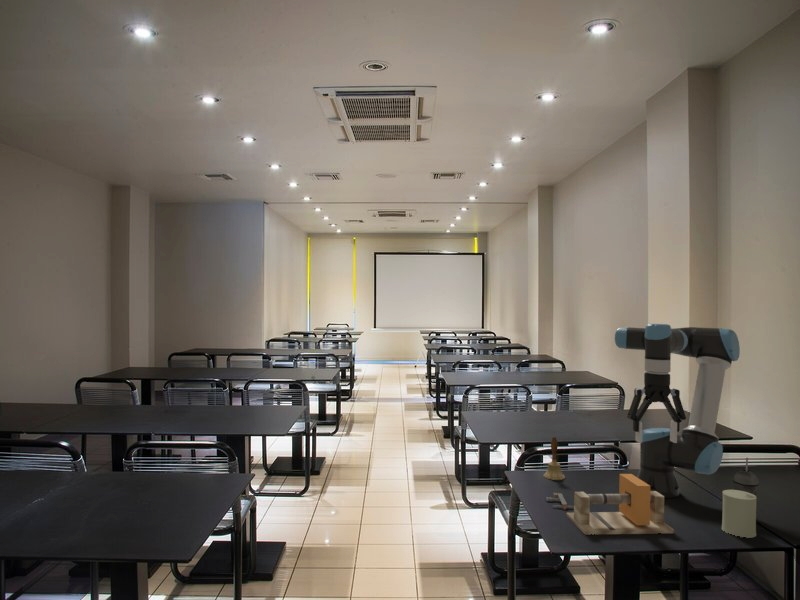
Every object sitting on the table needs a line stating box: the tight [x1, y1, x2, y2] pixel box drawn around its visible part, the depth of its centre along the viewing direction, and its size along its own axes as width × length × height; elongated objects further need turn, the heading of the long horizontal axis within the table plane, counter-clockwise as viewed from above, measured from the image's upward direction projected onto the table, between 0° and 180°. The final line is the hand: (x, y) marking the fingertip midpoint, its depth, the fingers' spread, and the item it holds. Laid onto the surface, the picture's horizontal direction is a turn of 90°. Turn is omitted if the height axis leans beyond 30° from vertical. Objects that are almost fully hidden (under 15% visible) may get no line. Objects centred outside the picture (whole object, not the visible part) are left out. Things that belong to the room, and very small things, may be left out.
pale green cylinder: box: [721, 489, 757, 539], centre depth 175 cm, size 9×9×12 cm
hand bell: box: [543, 436, 566, 481], centre depth 226 cm, size 8×8×16 cm
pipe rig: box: [565, 491, 675, 536], centre depth 179 cm, size 28×15×10 cm, turn 94°
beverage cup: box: [732, 457, 760, 497], centre depth 187 cm, size 7×7×20 cm
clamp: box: [545, 492, 574, 510], centre depth 195 cm, size 15×2×10 cm
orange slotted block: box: [618, 473, 650, 525], centre depth 180 cm, size 4×12×12 cm, turn 4°
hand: (656, 441), depth 180 cm, fingers open, 11 cm apart
